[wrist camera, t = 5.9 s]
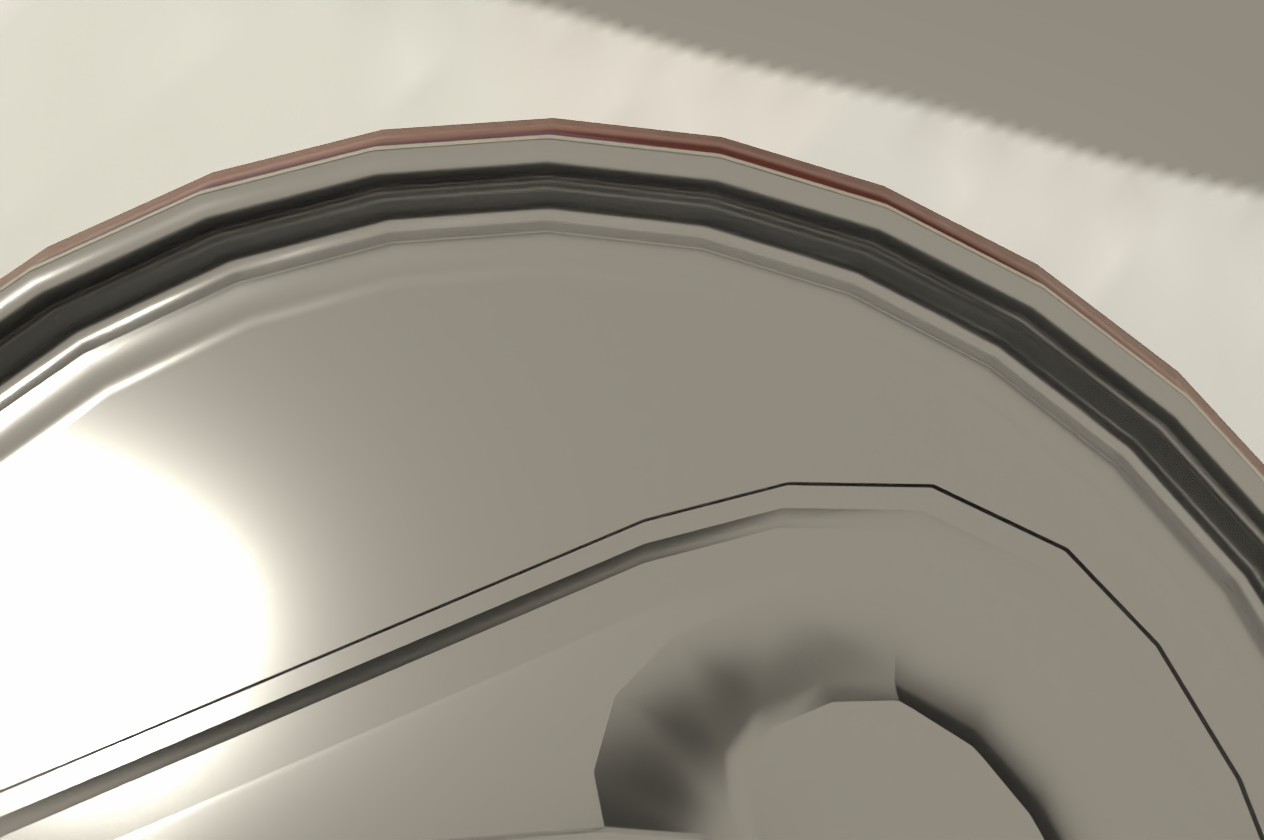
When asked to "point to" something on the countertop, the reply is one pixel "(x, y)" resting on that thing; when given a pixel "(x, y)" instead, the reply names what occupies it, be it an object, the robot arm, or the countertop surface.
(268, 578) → the soda can
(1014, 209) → the countertop surface
